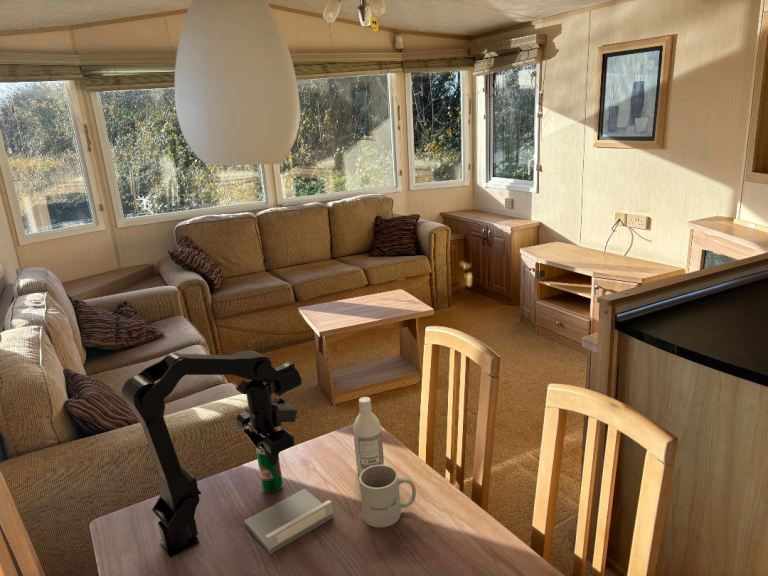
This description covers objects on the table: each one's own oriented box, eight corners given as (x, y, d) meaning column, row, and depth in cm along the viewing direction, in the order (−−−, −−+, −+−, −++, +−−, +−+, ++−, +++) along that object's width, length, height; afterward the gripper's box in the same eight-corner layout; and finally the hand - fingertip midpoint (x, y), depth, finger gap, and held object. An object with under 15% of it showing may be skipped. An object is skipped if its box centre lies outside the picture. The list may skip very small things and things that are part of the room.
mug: (361, 528, 121) (357, 489, 118) (364, 501, 130) (360, 465, 127) (417, 526, 121) (414, 487, 118) (416, 500, 129) (414, 463, 126)
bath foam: (389, 470, 140) (384, 400, 134) (366, 481, 137) (359, 409, 131) (375, 458, 146) (369, 389, 140) (352, 467, 142) (345, 398, 136)
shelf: (270, 555, 116) (268, 538, 114) (244, 525, 125) (242, 509, 124) (334, 517, 125) (332, 502, 124) (305, 492, 134) (303, 477, 133)
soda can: (258, 489, 136) (250, 447, 132) (272, 478, 140) (265, 436, 136) (273, 496, 133) (266, 453, 129) (287, 483, 137) (281, 442, 133)
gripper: (310, 404, 127) (318, 462, 132) (272, 379, 141) (279, 432, 146) (267, 422, 121) (276, 483, 125) (231, 394, 135) (240, 449, 139)
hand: (269, 460), depth 134 cm, fingers closed on soda can, 5 cm apart
